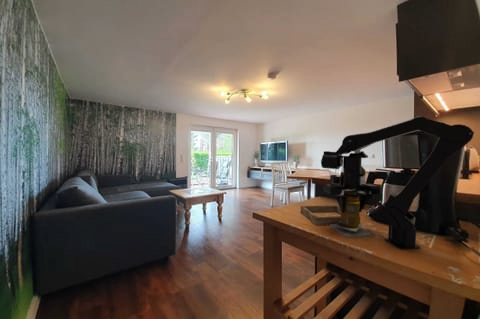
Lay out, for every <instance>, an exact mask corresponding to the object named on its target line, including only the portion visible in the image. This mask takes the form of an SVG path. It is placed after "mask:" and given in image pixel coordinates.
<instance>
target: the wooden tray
mask: <svg viewBox="0 0 480 319" xmlns="http://www.w3.org/2000/svg"><path fill="white" fill-rule="evenodd" d="M300 213H301V214H302V215H303V216H305V217H306V218H307V219H308V220H309V221H311V223H313V224H314V225H315V226H330V224H336V223H338V222H340V221H341V210H340V207H339V204H338V205H337V204H333V205H328V204H327V205H301V206H300ZM315 213H316V214H317V213H318V214H319V213H322V214H323V213H336V214H339V215H340V216H339V215H337V216H334V215H333V216H317V215H316V214H315ZM359 224H361V216H360V215H359Z"/></svg>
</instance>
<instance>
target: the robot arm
mask: <svg viewBox="0 0 480 319" xmlns="http://www.w3.org/2000/svg"><path fill="white" fill-rule="evenodd" d="M414 132H422V133H424V134H427V135H429V136H432V137H435V138H438V140H437V141H436V143H435V145H434V147H433V150H432V151H431V153H430V154H429V155H428V156H427V158H426V160H425V161H424V162H423V163H422V165H421V166H420V167H419V168H418V169H417V171H416V172H415V174H413V176H412V177H411V178H410V180H409V181H408V182H407V184H405V186H404V187H403V188H402V190H401V191H399V192H398V193H397V194H396V193H395V192H394V191H392V192H391V193H390V195H389V197H388V198H387V199H386V200H385V201H384V202H383V203H382V205H383V208H382V213H383V215H384V217H385V218H386V219H388V222H389V225H388V236H387V237H384V240H385V241H386V242H388V243H390V244H392V245H393V246H395V247H397V248H399V249H401V250H409V249H421V246H420V245H418V244H416V239H417V228H416V227H415V223H416V216H414V215H413V214H412V213H411V212H410V211H409V210H410V209H411V206H412V205H413V202H414V200H415V198H416V197H417V196H418V195H419V193H421V191H422V190H423V189H424V188H425V187H426V185H427V184H428V183H429V182H430V180H431V179H432V178H433V177H434V176H435V175H436V173H437V172H439V170H440V169H441V167H442V166H443V165H444V164H445V163H446V161H448V160H449V159H450V158H451V157H452V156H454V155H455V154H456V153H458V152H460V150H461V149H462V148H464V147H465V146H466V145H468V144H469V143H470V142H471V141H472V139H474V132H473V129H472V128H470V127H469V126H467V125H464V124H459V123H458V124H451V125H450V124H449V123H445V122H441V121H437V120H433V119H430V118H427V117H425V116H420V115H419V116H415V117H414V118H411V119H408V120H406V121H405V120H404V121H402V122H399V123H396V124H392V125H389V126H386V127H384V128H380V129H376V130H374V131H373V130H372V131H370V132H363V133H356V134H350V135H349V134H348V135H346V136H345V137H343V139H342V142H341V145H340V146H339V148H338V149H337V150H336V151H330V150H329V151H326V150H325V151H323V154H322V156H321V160H320V164H321V168H323V169H326V170H327V169H328V170H329V169H331V170H339V169H340V168H341V167H342V168H343V169H342V171H341V172H340V176H338V175H337V174H331V175H329V183H330V184H328V183H327V184H325V185H324V186H323V190H322V191H323V192H324V193H326V194H328V195H331V196H334V197H335V199H336V202H337V203H338V206H339V207H340V210H341V212H342V213H344V211H345V204H346V195H344V192H356V193H357V194H359V202H360V213H361V212H362V210H363V209H364V208H365V206H366V205H367V203H368V202H369V200H371V198H372V197H375V196H374V195H381V194H382V189H381V187H380V185H376V184H372V183H365V184H361V177H364V174H362V173H361V166H362V160H363V159H368V158H369V155H367V154H366V152H364V151H363V149H366V148H368V147H370V146H372V145H373V144H376V143H379V142H383V141H386V140H390V139H394V138H396V137H397V138H398V137H400V136H404V135H407V134H410V133H414ZM359 150H360V153H354V151H359ZM348 154H349V155H348Z"/></svg>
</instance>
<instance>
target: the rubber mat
mask: <svg viewBox="0 0 480 319" xmlns="http://www.w3.org/2000/svg"><path fill="white" fill-rule="evenodd" d="M329 226H330V227H331V228H332V229H333V230H334V231H336V232H337V233H339V234H340V235H341V236H342V237H344V238H355V237H356V238H359V237H360V238H361V237H364V238H365V237H373V236H374V235H373V233H371V232H370V231H367V230H366V229H364V228H362V227H360V228H359V229H358V230H357V231H351V230H348V229H344V228H341V227H337V226H335V224H330V225H329Z"/></svg>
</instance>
